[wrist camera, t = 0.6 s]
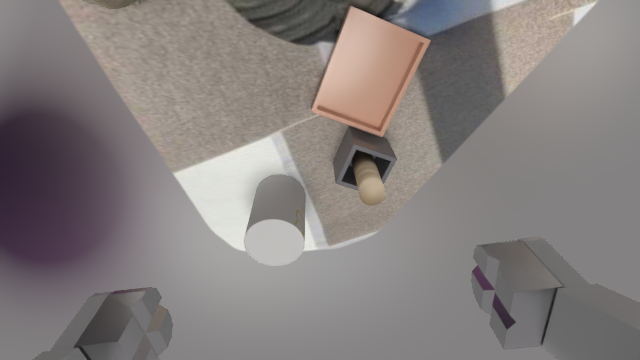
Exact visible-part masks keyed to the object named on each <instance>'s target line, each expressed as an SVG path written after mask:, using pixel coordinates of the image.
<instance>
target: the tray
mask: <svg viewBox="0 0 640 360" xmlns="http://www.w3.org/2000/svg"><path fill="white" fill-rule="evenodd" d="M430 41H431V40H429V39H427V38H424V37H422V36H420V35H418V34H415V33H413V32H411V31H408V30H406V29H404V28H401V27H399V26H397V25H394V24H392V23H390V22H387V21H385V20H383V19H381V18H378V17H376V16H374V15H371V14H369V13H367V12H364V11H362V10H360V9H357V8H355V7H353V6H351V5H349V7H348V10H347V12H346V15H345V18H344V20H343V23H342V26H341V28H340V31H339V34H338V36H337V39H336V42H335V44H334V47H333V50H332V52H331V55H330V58H329V60H328V63H327V66H326V68H325V71H324V74H323V76H322V79H321V82H320V84H319V87H318V90H317V92H316V95H315V98H314V100H313V103H312V106H311V112H314V113H316V114H319V115H322V116H325V117H328V118H330V119H333V120H336V121H339V122H342V123H344V124H347V125H350V126H353V127H356V128H358V129H361V130H364V131H367V132H370V133H372V134H375V135H378V136H381V137H383V135H384V133H385V131H386V129H387V127H388V125H389V123H390V121H391V119H392V117H393V115H394V113H395V111H396V109H397V107H398V105H399V103H400V101H401V99H402V97H403V95H404V93H405V91H406V89H407V87H408V85H409V83H410V81H411V79H412V77H413V75H414V73H415V71H416V69H417V67H418V65H419V63H420V61H421V59H422V57H423V55H424V53H425V51H426V49H427V47H428V45H429V43H430Z"/></svg>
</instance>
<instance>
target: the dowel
mask: <svg viewBox="0 0 640 360" xmlns="http://www.w3.org/2000/svg"><path fill="white" fill-rule="evenodd" d="M351 161H352V165H353V170H354V174H355V178H356V182H357V186H358V190H359V195H360V198H361V200H362V202H363V203H365V204H367V205H377V204H379V203H381V202H382V201H383V200H384V198H385V196H386V191H385V188H384V185H383V182H382V180H381V177H380V174H379V172H378V169H377V166H376V164H375V161H374V158H373V155H371V154H368V153H365V152H362V151H359V150H357V149H356V151H355V153H354V155H353V158H352V160H351Z"/></svg>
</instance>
